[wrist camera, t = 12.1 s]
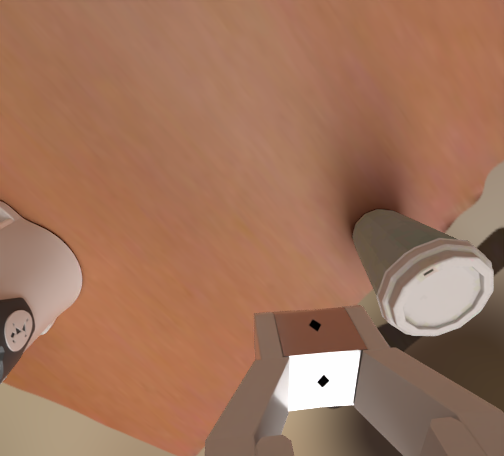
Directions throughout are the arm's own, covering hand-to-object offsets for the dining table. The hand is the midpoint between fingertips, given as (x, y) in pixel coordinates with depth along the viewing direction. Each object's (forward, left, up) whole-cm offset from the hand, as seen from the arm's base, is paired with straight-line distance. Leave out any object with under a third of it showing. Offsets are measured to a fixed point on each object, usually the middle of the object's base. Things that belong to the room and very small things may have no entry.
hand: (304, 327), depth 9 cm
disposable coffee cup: (+17, -12, -29) cm, 36 cm away
